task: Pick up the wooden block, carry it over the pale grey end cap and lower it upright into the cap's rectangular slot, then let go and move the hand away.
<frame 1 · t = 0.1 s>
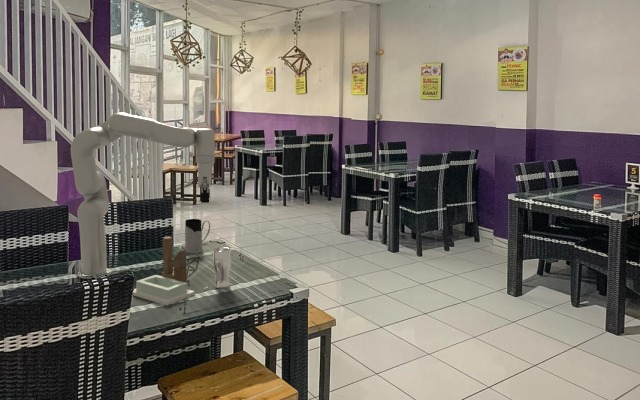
hand: (205, 200, 226), 31 cm above the table, tool pointing down, fingers open, 9 cm apart
glass holder: (198, 250, 265), on the table
beer glass: (222, 286, 215), on the table
end cap: (161, 294, 204), on the table
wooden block: (174, 283, 218), on the table
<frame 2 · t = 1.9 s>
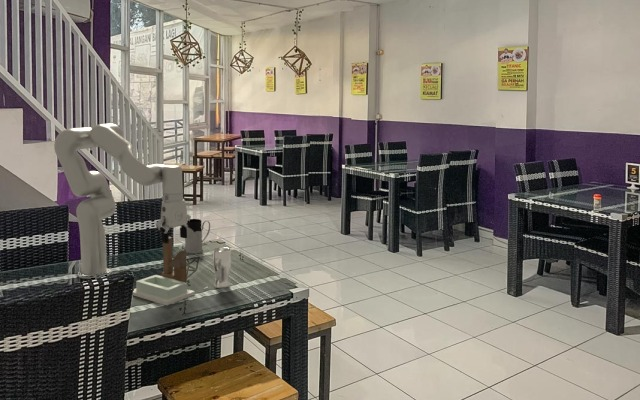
hand: (174, 240, 214), 17 cm above the table, tool pointing down, fingers open, 9 cm apart
nothing on the table moved.
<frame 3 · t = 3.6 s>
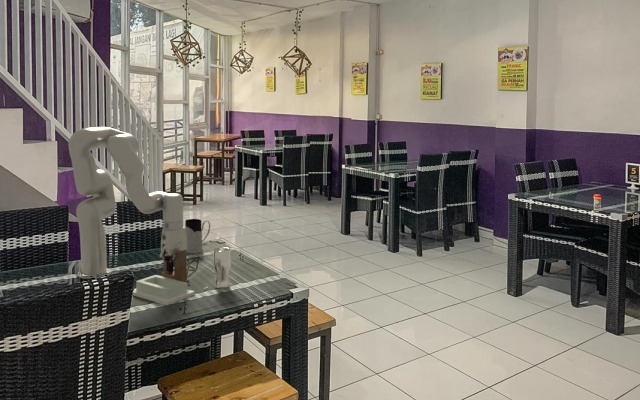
hand: (174, 269, 217), 5 cm above the table, tool pointing down, fingers closed on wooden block, 3 cm apart
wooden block: (174, 283, 218), on the table, touching gripper
everything else where it was.
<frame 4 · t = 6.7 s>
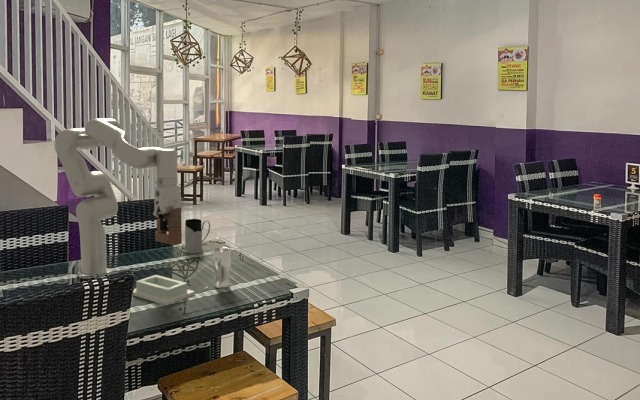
hand: (168, 229, 208), 23 cm above the table, tool pointing down, fingers closed on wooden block, 3 cm apart
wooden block: (168, 243, 209), point 18 cm above the table, touching gripper
everything else where it was.
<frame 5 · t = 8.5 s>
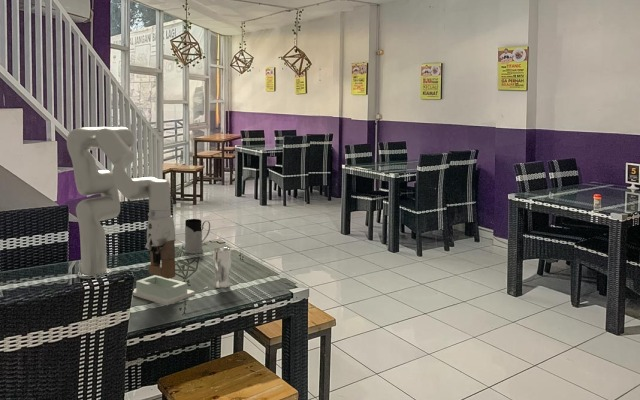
hand: (161, 261, 202), 13 cm above the table, tool pointing down, fingers closed on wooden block, 3 cm apart
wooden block: (162, 275, 203), point 7 cm above the table, touching gripper
everything else where it was.
when the fingers open (8 cm above the table, at t = 9.8 s): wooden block drops 1 cm, resting on end cap.
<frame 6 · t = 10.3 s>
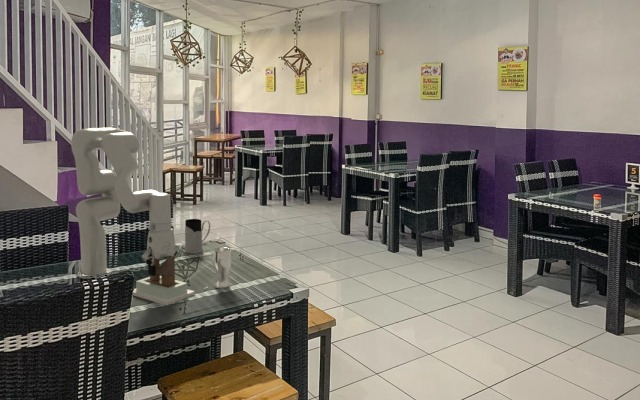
hand: (161, 272, 203), 9 cm above the table, tool pointing down, fingers open, 8 cm apart
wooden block: (161, 291, 204), point 1 cm above the table, touching end cap
everything else where it was.
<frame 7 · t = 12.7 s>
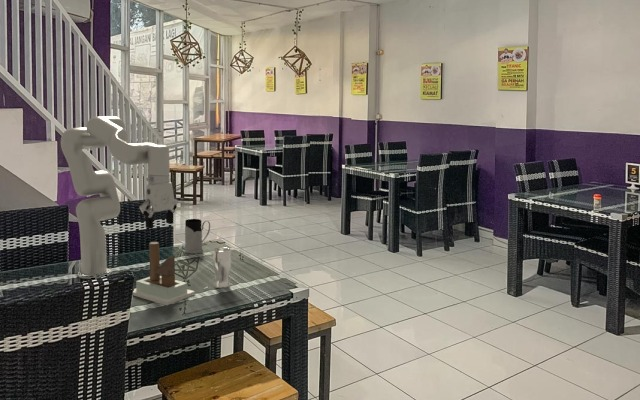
hand: (159, 225, 200), 26 cm above the table, tool pointing down, fingers open, 9 cm apart
nothing on the table moved.
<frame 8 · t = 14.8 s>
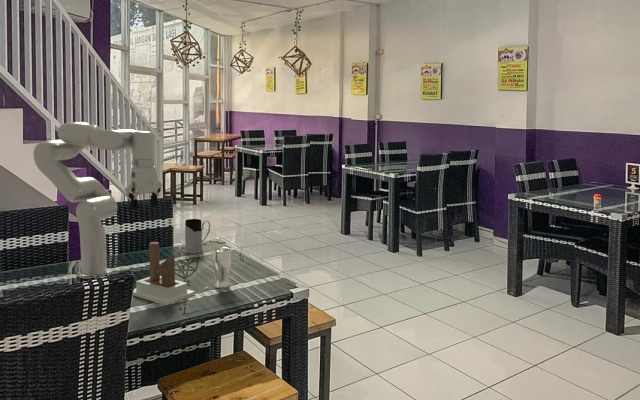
hand: (144, 207, 212), 30 cm above the table, tool pointing down, fingers open, 9 cm apart
nothing on the table moved.
at the end: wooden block 0.1 cm off-centre on the end cap, point 1.0 cm above the end cap's base; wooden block tilted 0°; the gripper is holding nothing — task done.
